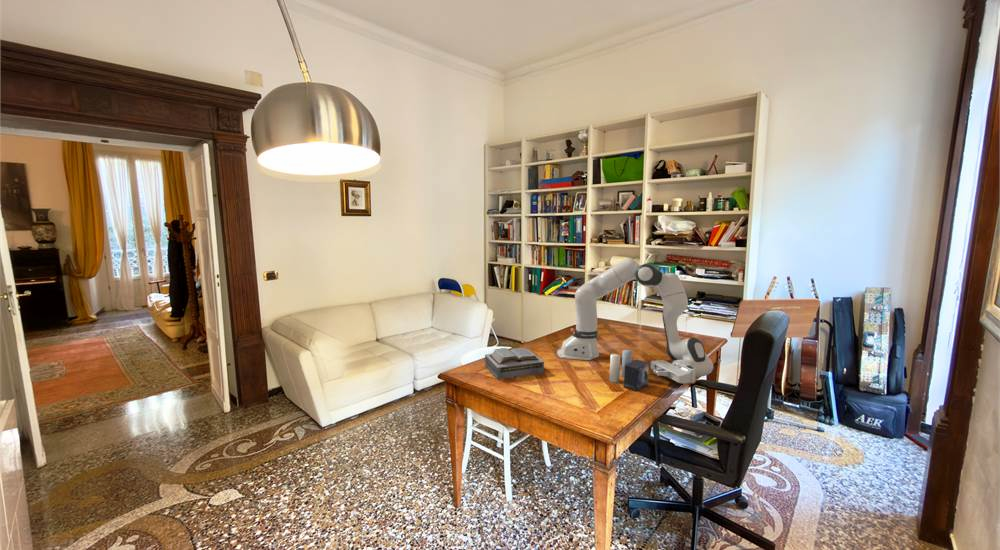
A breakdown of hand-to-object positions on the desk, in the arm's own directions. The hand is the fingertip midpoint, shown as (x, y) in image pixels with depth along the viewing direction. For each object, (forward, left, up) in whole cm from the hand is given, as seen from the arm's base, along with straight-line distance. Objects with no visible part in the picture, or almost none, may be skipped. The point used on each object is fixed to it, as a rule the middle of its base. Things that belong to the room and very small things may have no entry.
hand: (655, 372), depth 179 cm
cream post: (-17, +3, -5) cm, 18 cm away
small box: (-9, -3, -5) cm, 11 cm away
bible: (-64, +15, -6) cm, 65 cm away
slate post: (-10, +9, -5) cm, 14 cm away
